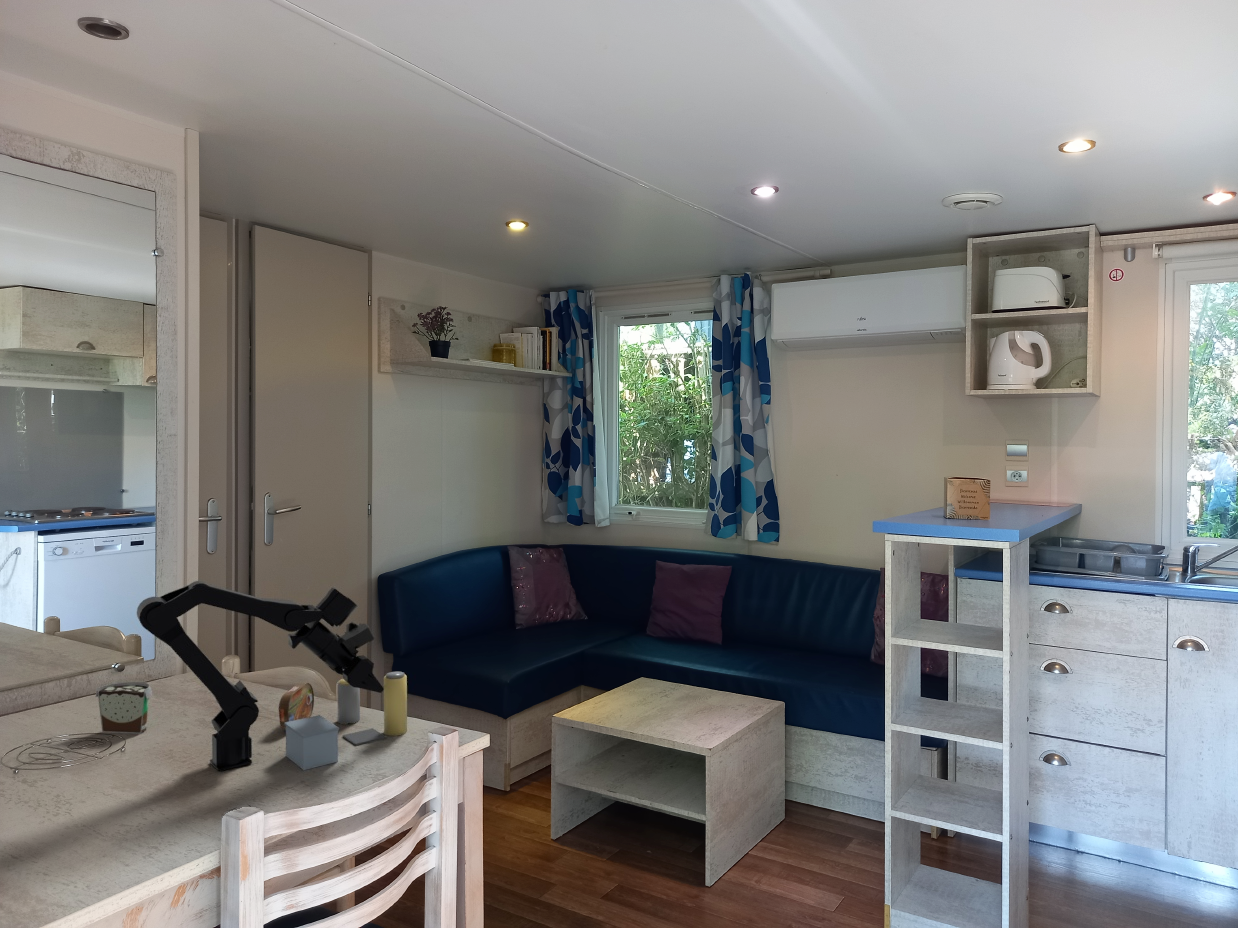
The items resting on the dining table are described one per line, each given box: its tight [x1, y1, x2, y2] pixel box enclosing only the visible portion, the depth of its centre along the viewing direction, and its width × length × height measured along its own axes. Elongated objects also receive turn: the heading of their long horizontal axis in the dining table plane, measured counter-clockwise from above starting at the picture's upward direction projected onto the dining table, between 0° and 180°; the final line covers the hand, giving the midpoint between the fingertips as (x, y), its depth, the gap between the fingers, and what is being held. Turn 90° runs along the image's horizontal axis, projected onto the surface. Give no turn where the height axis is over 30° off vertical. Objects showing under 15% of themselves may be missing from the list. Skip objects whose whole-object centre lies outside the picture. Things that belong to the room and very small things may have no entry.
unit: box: [284, 714, 340, 771], centre depth 176 cm, size 7×10×7 cm
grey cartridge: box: [336, 678, 361, 725], centre depth 200 cm, size 5×5×10 cm
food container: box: [95, 681, 153, 735], centre depth 194 cm, size 12×6×10 cm, turn 84°
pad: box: [342, 727, 387, 746], centre depth 188 cm, size 7×7×1 cm
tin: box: [278, 682, 315, 731], centre depth 198 cm, size 15×3×8 cm, turn 179°
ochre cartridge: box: [383, 671, 408, 736], centre depth 192 cm, size 5×5×13 cm
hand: (375, 685), depth 190 cm, fingers open, 9 cm apart
